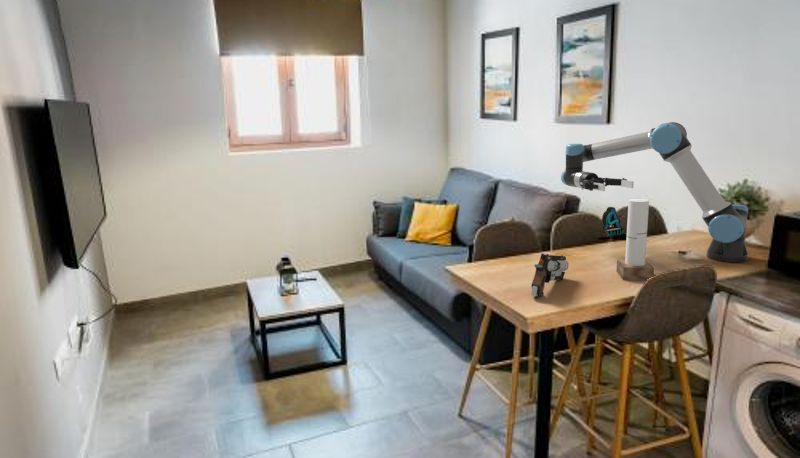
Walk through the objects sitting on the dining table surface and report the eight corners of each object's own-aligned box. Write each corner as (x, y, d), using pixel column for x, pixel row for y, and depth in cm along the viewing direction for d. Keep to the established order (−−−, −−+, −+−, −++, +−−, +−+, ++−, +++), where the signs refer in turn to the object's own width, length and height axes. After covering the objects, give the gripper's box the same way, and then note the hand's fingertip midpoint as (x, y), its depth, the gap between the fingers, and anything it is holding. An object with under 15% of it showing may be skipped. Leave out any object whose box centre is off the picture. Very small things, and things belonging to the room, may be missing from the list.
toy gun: (565, 293, 215) (569, 255, 215) (540, 297, 192) (545, 254, 192) (553, 291, 218) (558, 254, 218) (527, 294, 195) (532, 252, 195)
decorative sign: (621, 233, 283) (622, 204, 279) (625, 234, 280) (626, 205, 277) (593, 238, 275) (594, 209, 271) (597, 239, 273) (598, 209, 269)
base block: (645, 271, 220) (646, 259, 219) (653, 280, 209) (654, 267, 208) (616, 271, 222) (617, 259, 221) (622, 279, 211) (623, 267, 210)
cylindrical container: (646, 266, 210) (651, 201, 205) (626, 265, 212) (630, 201, 206) (642, 261, 217) (646, 198, 212) (623, 260, 219) (627, 198, 213)
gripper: (610, 186, 247) (643, 192, 228) (561, 191, 241) (591, 198, 221) (611, 170, 246) (644, 174, 226) (562, 174, 239) (592, 179, 219)
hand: (618, 186), depth 223 cm, fingers open, 13 cm apart
